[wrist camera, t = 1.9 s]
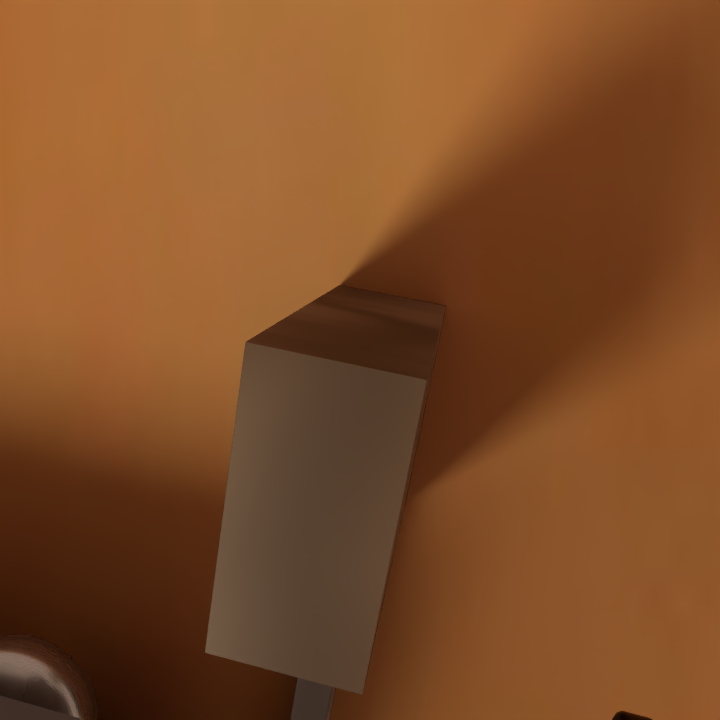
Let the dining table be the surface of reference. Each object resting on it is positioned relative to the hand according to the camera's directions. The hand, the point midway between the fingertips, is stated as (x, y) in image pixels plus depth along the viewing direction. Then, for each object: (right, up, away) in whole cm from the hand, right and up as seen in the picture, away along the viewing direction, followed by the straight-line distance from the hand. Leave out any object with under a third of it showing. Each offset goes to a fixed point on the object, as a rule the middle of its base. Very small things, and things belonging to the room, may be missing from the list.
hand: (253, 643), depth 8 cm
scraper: (+1, -3, +12) cm, 13 cm away
